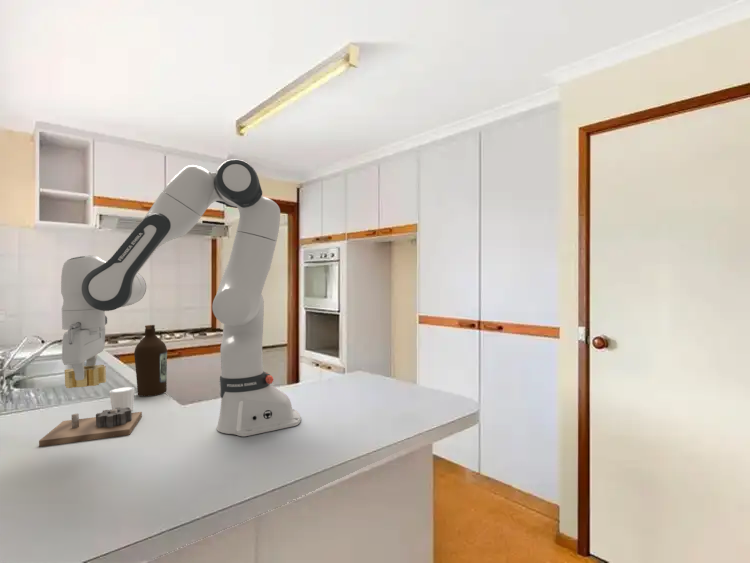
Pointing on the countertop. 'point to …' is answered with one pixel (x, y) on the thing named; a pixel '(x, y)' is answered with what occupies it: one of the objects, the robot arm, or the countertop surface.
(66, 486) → the countertop surface
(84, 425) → the gear board
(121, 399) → the white short cylinder
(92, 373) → the brass gear
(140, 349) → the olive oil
